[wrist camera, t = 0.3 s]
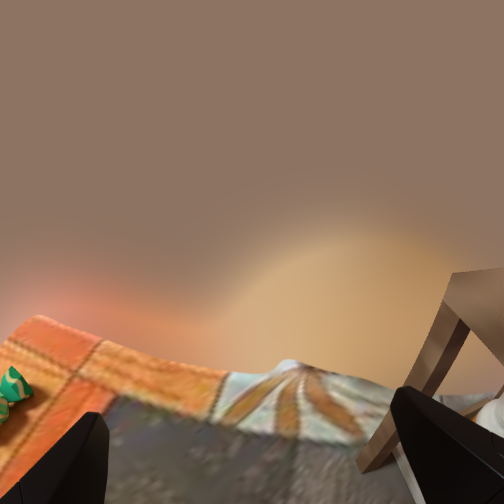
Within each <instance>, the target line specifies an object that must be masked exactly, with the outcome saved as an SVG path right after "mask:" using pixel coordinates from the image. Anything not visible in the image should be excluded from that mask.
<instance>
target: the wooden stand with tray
mask: <svg viewBox="0 0 504 504" xmlns="http://www.w3.org/2000/svg"><path fill="white" fill-rule="evenodd" d="M470 330H472V331H473V332H474V333H475V334H476V335H477V337H478V338H479V339H480V340H481V341H482V342H483V343H484V344H485V345H486V346H487V347H488V349H489V350H490V351H491V352H492V353H493V354H494V355H495V357H496V358H497V359H498V360H499V361H500V363H501V364H502V365H503V366H504V268H496V269H487V270H478V271H469V272H460V273H453V274H452V276H451V279H450V281H449V284H448V287H447V290H446V292H445V295H444V298H443V300H442V303H441V305H440V308H439V311H438V313H437V315H436V318H435V320H434V323H433V325H432V327H431V329H430V332H429V334H428V336H427V339H426V341H425V343H424V345H423V347H422V349H421V351H420V353H419V355H418V357H417V360H416V362H415V364H414V366H413V367H412V369H411V371H410V373H409V375H408V377H407V379H406V381H405V383H404V385H403V386H406V385H410V386H412V387H414V388H415V389H417V390H419V391H420V392H422V393H424V394H426V395H427V396H429V397H431V398H432V397H433V395H434V394H435V392H436V390H437V389H438V387H439V386H440V384H441V382H442V381H443V379H444V378H445V376H446V374H447V372H448V371H449V369H450V367H451V366H452V364H453V362H454V360H455V358H456V357H457V355H458V353H459V351H460V349H461V347H462V346H463V344H464V341H465V340H466V338H467V336H468V334H469V332H470ZM503 392H504V385H503V387H502V388H501V390H500V391H499V392H498V394H497V395H496V396H495V398H494V399H499V398H500V396H501V395H502V394H503ZM494 399H493V400H494ZM391 452H392V453H393V455H394V457H395V459H396V461H397V463H398V465H399V468H400V470H401V472H402V474H403V476H404V478H405V481H406V483H407V485H408V487H409V489H410V491H411V494H412V496H413V498H414V500H415V503H416V504H426V503H425V500H424V498H423V496H422V493H421V491H420V488H419V486H418V483H417V481H416V479H415V476H414V474H413V472H412V469H411V467H410V465H409V462H408V460H407V458H406V455H405V453H404V451H403V448H402V446H401V443H400V440H399V436H398V433H397V430H396V427H395V424H394V420H393V417H392V414H391V411H390V409H389V411H388V412H387V414H386V416H385V417H384V419H383V421H382V422H381V424H380V425H379V427H378V428H377V430H376V431H375V433H374V435H373V436H372V438H371V439H370V441H369V442H368V443H367V445H366V446H365V448H364V449H363V451H362V452H361V454H360V455H359V456H358V458H357V459H356V462H357V464H358V467H359V470H360V472H361V474H363V473H366V472H370V471H373V470H376V469H378V468H379V466H380V465H381V464H382V463H383V462H384V461H385V459H386V458H387V457H388V456H389V455H390V454H391Z"/></svg>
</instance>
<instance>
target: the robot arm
mask: <svg viewBox="0 0 504 504" xmlns="http://www.w3.org/2000/svg"><path fill="white" fill-rule="evenodd" d="M390 411H391V414H392V417H393V420H394V424H395V427H396V430H397V433H398V436H399V440H400V443H401V446H402V448H403V451H404V453H405V455H406V458H407V460H408V462H409V465H410V467H411V469H412V472H413V474H414V476H415V479H416V481H417V483H418V486H419V488H420V491H421V493H422V496H423V498H424V500H425V503H426V504H504V438H503V437H501V436H499V435H497V434H495V433H493V432H490V431H489V430H488V429H486V428H484V427H482V426H480V425H479V424H477V423H475V422H473V421H471V420H470V419H468V418H466V417H464V416H462V415H461V414H459V413H457V412H455V411H454V410H452V409H450V408H448V407H446V406H445V405H443V404H441V403H439V402H438V401H436V400H434V399H433V398H431V397H429V396H427V395H426V394H424V393H422V392H420V391H419V390H417V389H415V388H414V387H412V386H410V385H406V386H402V387H400V388H398V389H397V390H396V392H395V394H394V397H393V399H392V401H391V404H390ZM108 453H109V429H108V427H107V425H106V423H105V421H104V419H103V417H102V415H101V414H100V413H98V412H86V413H85V414H84V415H83V416H82V417H81V418H80V419H79V420H78V421H77V422H76V423H75V424H74V425H73V426H72V427H71V428H70V429H69V430H68V431H67V432H66V433H65V434H64V435H63V436H62V437H61V438H60V439H59V440H58V441H57V442H56V443H55V444H54V445H53V446H52V447H51V448H50V449H49V450H48V451H47V452H46V453H45V454H44V455H43V456H42V458H41V459H40V460H39V461H38V462H37V463H36V464H35V465H34V466H33V467H32V468H31V469H30V470H29V471H28V472H27V473H26V474H25V475H24V476H23V477H22V478H21V479H20V480H19V482H17V483H16V484H15V485H14V486H13V487H12V488H11V489H10V490H9V491H8V492H7V493H6V494H5V495H4V496H3V497H1V498H0V504H104V499H105V492H106V485H107V477H108Z"/></svg>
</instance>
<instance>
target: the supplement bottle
mask: <svg viewBox="0 0 504 504" xmlns="http://www.w3.org/2000/svg"><path fill="white" fill-rule="evenodd" d="M472 421H473V422H475V423H477V424H479V425H480V426H482V427H484V428H486V429H488V430H489V431H490V432H493V433H495V434H497V435H499V436H501V437H503V438H504V392H503V394H502V395H501V396H500V398H499V399H494V400H492V401H490V402H488V403H487V404H485V405H484V406H483V408H482V409H481V410H480V411H479V412H478V414H477V415H476V416H475V417H474V419H473V420H472Z"/></svg>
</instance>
